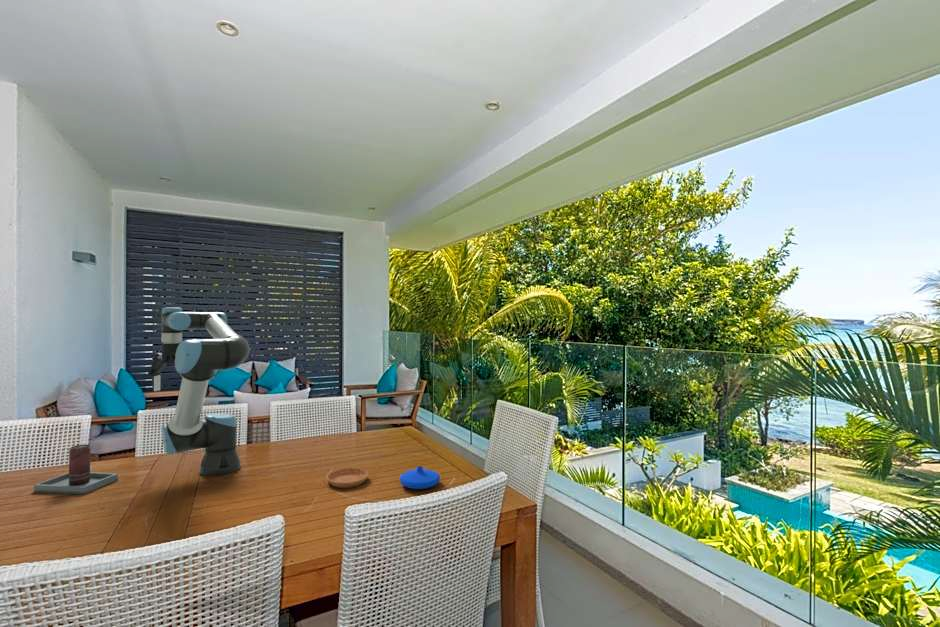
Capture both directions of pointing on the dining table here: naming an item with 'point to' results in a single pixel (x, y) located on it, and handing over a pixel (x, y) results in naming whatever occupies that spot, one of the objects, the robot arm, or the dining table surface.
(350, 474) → the saucer
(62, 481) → the tray
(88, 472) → the can
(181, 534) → the dining table surface
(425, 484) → the blue lid
